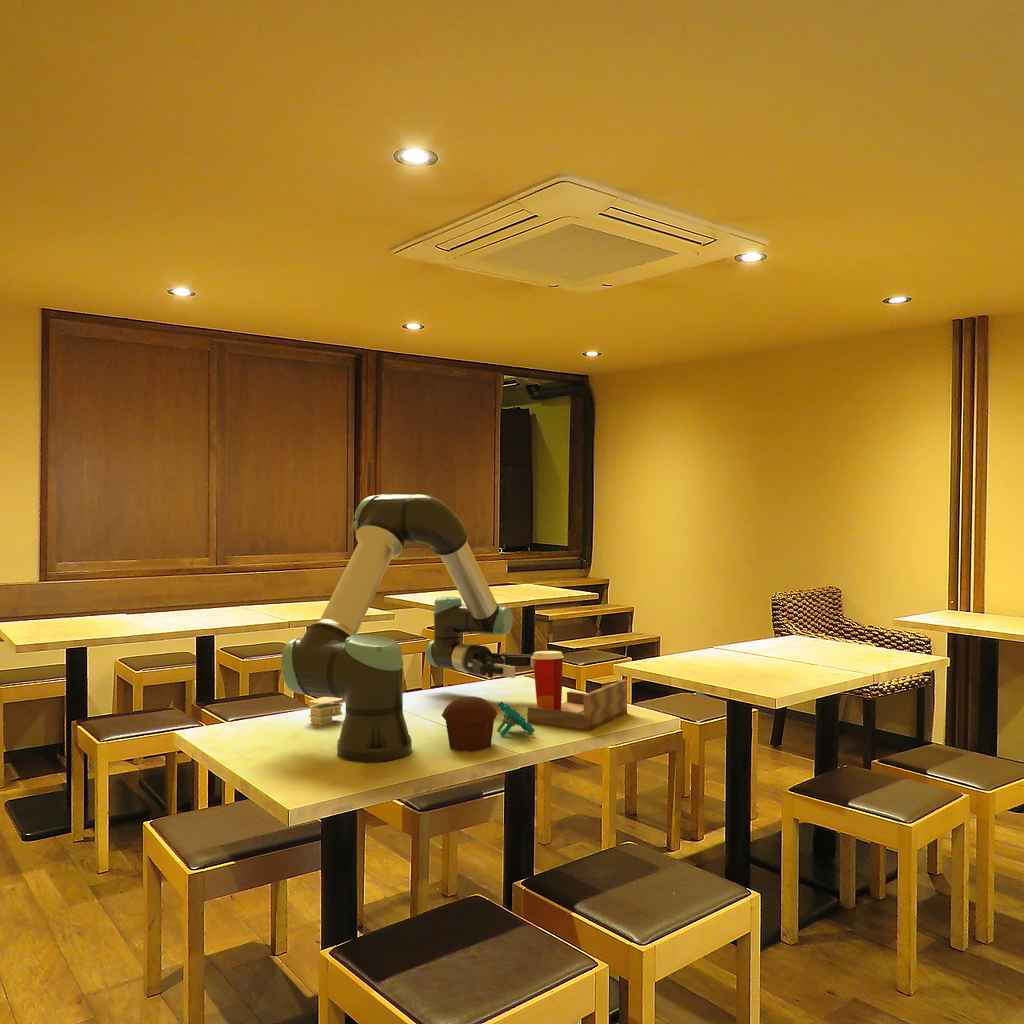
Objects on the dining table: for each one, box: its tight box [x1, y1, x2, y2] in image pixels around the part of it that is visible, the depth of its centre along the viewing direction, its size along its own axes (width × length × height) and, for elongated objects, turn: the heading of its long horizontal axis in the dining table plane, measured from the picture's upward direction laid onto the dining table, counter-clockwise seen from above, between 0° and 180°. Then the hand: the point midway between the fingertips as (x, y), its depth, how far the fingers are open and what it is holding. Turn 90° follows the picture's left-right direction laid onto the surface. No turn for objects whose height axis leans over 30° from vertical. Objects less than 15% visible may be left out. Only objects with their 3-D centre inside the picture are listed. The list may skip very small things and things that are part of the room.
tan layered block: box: [308, 696, 343, 726], centre depth 202 cm, size 10×9×6 cm
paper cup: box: [532, 650, 565, 710], centre depth 204 cm, size 8×8×14 cm
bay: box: [527, 679, 628, 732], centre depth 203 cm, size 20×16×8 cm
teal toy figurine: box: [496, 701, 536, 737], centre depth 189 cm, size 11×6×10 cm
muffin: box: [441, 696, 499, 753], centre depth 180 cm, size 12×11×10 cm
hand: (533, 668), depth 212 cm, fingers open, 13 cm apart
